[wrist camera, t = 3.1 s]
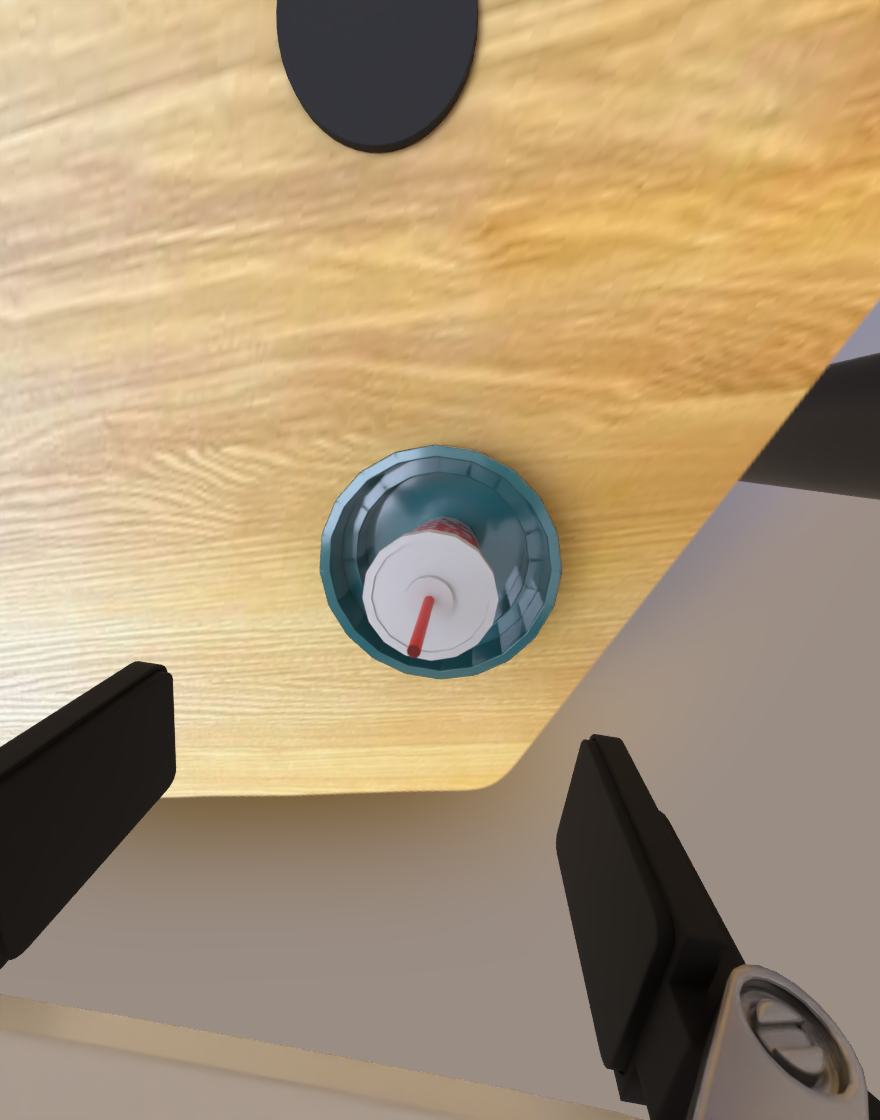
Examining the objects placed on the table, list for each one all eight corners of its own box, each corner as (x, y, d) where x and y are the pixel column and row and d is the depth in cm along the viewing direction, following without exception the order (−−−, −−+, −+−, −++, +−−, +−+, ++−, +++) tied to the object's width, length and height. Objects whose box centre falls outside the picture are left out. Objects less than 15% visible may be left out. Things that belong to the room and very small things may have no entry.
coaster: (493, -96, 20) (493, -113, 19) (461, 163, 22) (461, 155, 22) (284, -114, 20) (279, -131, 20) (277, 142, 23) (273, 134, 22)
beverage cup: (382, 525, 27) (292, 602, 14) (469, 488, 26) (464, 533, 13) (419, 607, 29) (371, 751, 15) (504, 576, 28) (533, 699, 14)
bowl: (565, 462, 26) (586, 466, 21) (524, 654, 29) (534, 695, 25) (354, 432, 26) (327, 429, 22) (339, 624, 30) (313, 659, 25)
